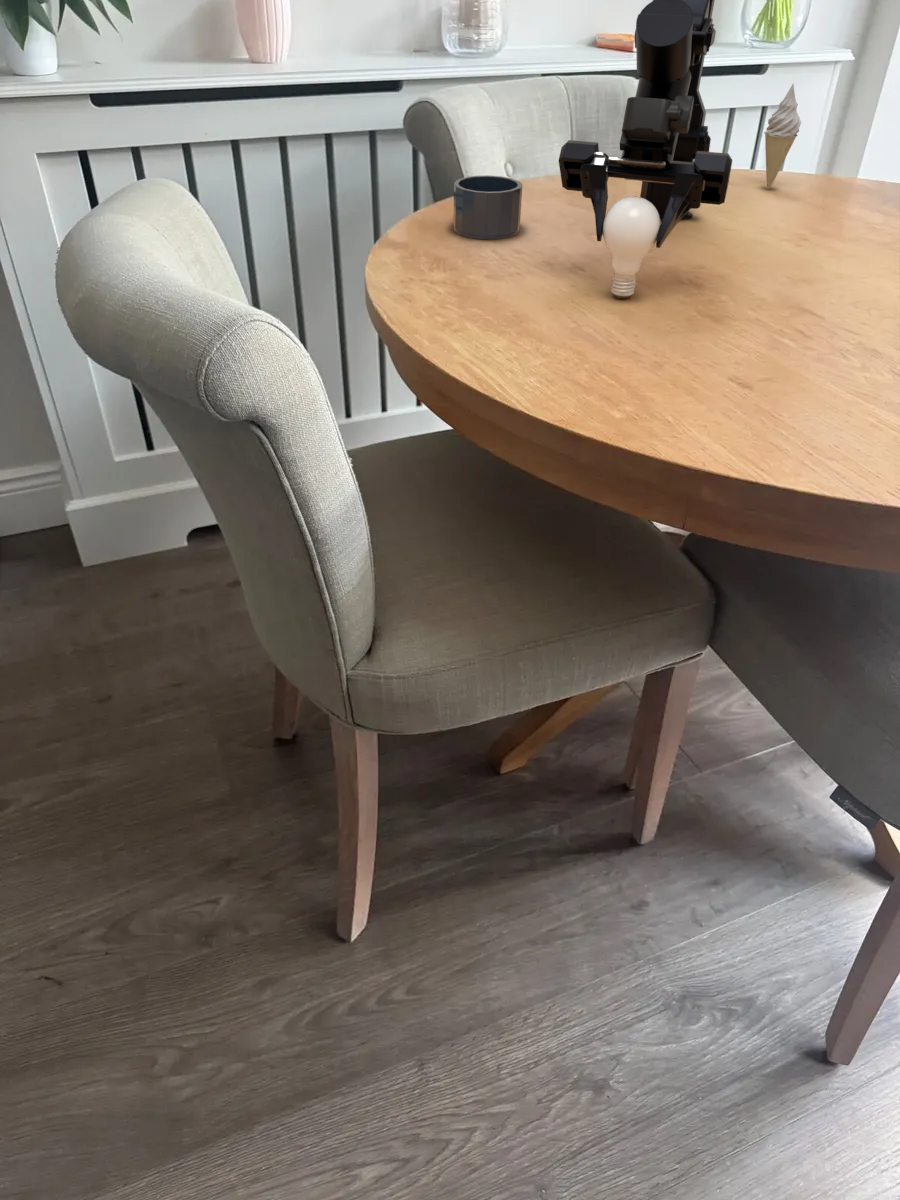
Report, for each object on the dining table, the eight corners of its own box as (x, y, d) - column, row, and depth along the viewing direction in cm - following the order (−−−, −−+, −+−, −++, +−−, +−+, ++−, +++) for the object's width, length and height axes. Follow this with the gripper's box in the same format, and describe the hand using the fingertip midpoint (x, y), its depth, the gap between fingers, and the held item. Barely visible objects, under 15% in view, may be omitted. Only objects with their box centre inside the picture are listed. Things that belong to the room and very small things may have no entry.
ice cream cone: (788, 193, 140) (814, 86, 130) (756, 192, 140) (780, 85, 130) (779, 185, 144) (804, 80, 134) (749, 184, 144) (771, 80, 134)
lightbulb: (648, 309, 100) (664, 207, 93) (592, 304, 100) (604, 203, 94) (649, 290, 104) (665, 191, 97) (596, 285, 105) (608, 188, 98)
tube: (511, 219, 127) (514, 174, 123) (525, 238, 120) (528, 191, 116) (449, 221, 125) (449, 176, 122) (459, 240, 118) (460, 193, 115)
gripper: (570, 56, 93) (538, 192, 92) (750, 67, 88) (719, 210, 87) (578, 125, 104) (549, 247, 102) (738, 137, 99) (710, 266, 98)
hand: (627, 242), depth 97 cm, fingers closed on lightbulb, 6 cm apart
